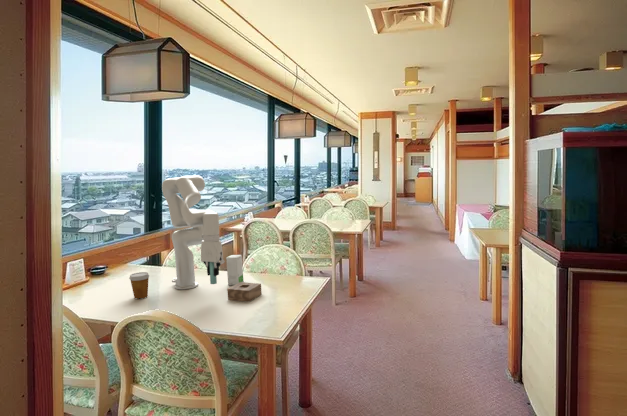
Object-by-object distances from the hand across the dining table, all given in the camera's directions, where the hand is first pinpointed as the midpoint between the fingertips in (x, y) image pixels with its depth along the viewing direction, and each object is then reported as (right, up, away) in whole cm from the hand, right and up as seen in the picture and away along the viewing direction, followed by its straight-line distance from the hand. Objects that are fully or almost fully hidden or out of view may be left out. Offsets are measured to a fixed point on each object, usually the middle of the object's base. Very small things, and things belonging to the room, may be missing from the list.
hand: (213, 274), depth 202 cm
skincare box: (+5, -10, +30) cm, 32 cm away
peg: (0, -4, +1) cm, 4 cm away
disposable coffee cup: (-40, -14, +12) cm, 43 cm away
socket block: (+15, -12, +5) cm, 19 cm away
